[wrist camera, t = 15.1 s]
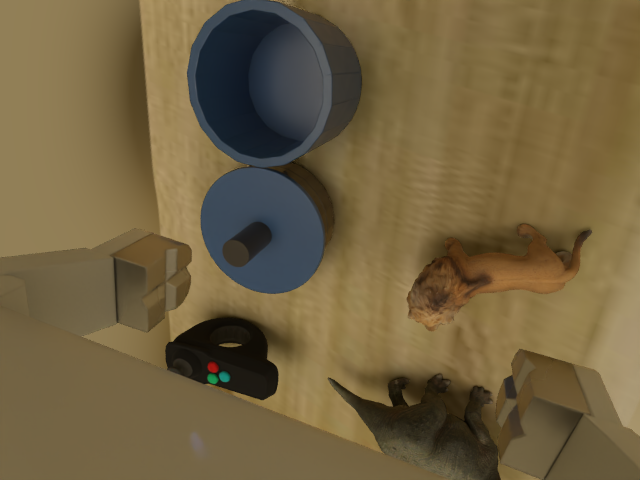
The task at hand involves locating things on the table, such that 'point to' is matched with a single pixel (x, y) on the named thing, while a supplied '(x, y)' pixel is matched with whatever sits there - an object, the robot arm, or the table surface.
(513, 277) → the lion figurine
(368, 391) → the table surface
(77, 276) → the robot arm
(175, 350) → the controller
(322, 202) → the pan
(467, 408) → the toy dinosaur
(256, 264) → the lid
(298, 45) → the pot
